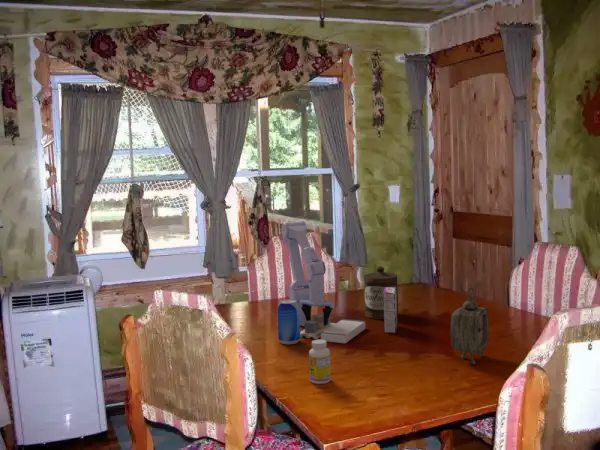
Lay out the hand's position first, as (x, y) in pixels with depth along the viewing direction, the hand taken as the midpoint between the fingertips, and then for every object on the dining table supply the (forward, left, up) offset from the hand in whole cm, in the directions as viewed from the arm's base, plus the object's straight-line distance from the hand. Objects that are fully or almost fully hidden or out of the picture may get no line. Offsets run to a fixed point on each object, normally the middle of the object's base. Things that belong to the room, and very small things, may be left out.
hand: (317, 323), depth 254 cm
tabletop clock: (+64, -14, -4) cm, 65 cm away
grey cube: (0, -6, -2) cm, 6 cm away
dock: (+12, 0, -3) cm, 12 cm away
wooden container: (+16, +34, -4) cm, 38 cm away
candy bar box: (+27, +14, -4) cm, 30 cm away
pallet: (0, 0, -4) cm, 4 cm away
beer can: (-4, -16, -4) cm, 17 cm away
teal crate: (0, +6, -2) cm, 6 cm away
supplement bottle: (+25, -52, -4) cm, 57 cm away
